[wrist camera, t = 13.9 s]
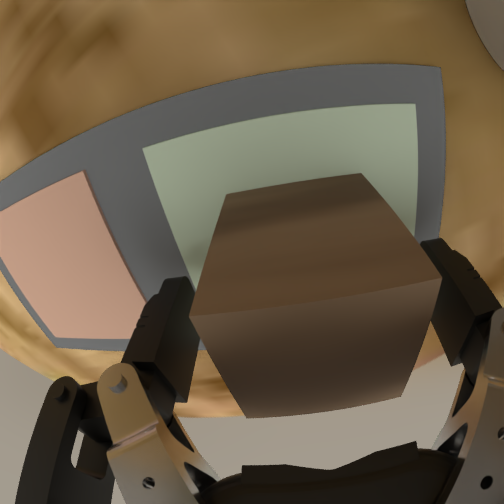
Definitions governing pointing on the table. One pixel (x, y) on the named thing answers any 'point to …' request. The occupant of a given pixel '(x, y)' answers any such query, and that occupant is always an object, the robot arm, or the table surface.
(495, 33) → the coffee cup
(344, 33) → the table surface
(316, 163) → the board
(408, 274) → the walnut block
